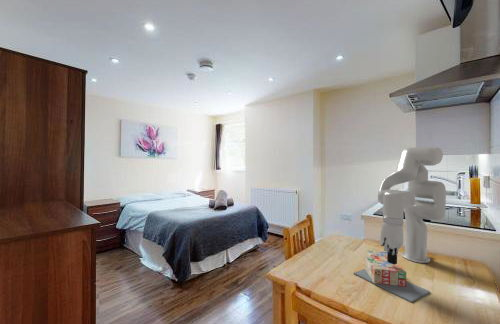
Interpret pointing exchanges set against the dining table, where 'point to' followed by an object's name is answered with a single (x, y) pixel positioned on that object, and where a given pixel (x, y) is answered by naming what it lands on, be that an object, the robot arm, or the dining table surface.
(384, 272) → the stack of blocks
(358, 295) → the dining table surface
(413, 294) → the mat
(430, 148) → the robot arm
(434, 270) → the dining table surface
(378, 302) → the dining table surface
